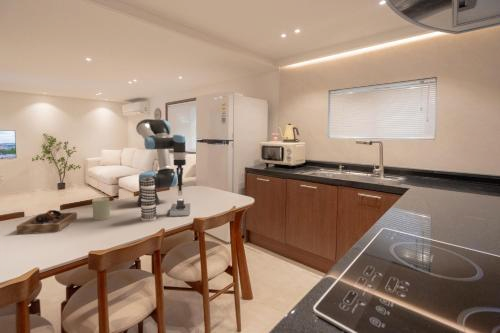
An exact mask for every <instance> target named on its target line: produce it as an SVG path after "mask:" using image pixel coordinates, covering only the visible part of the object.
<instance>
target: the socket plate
mask: <svg viewBox="0 0 500 333" xmlns="http://www.w3.org/2000/svg"><path fill="white" fill-rule="evenodd" d="M189 215H190V216H191V203H184V209H177V203H171V207H170V210H169V217H182V216H183V217H185V216H187V217H188V216H189Z"/></svg>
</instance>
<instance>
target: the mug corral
mask: <svg viewBox="0 0 500 333" xmlns="http://www.w3.org/2000/svg"><path fill="white" fill-rule="evenodd" d="M45 213H46V212H45ZM45 213H39V214H37V215H35V216H34V217H31V218H29V219H27V220H25V221H24V222H22V223H19V224H18V225H16V233H17V234H18V235H19V234H36V233H35V232H41V233H55V232H56V233H57V232H58V231H59V232H60V231H61V232H62V230H64V229H65V228H66V226H67V227H68V226H69V225H70V223H71V224H72V223H74V222H75V221H76V220H77V219H78V212H77V211H73V212H70V211H69V212H60V213H61V214H62V219H61V220H60V221H59V222H57V223H53V222H54V221H53V220H52V219H49V221H48V222H51V221H53V222H51V223H43V224H41V223H38V222H37V221H36V220H35V218H36V217H37V216H38V215H44V214H45ZM50 215H52V216H55V218H56V219H57V217H58V216H59V214H53V212H51V213H50ZM39 220H41V218H39Z"/></svg>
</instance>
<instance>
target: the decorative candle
mask: <svg viewBox="0 0 500 333" xmlns="http://www.w3.org/2000/svg"><path fill="white" fill-rule="evenodd" d="M154 180H155V179H153V178H152V177H144V178H142V180H140V181H141V187H140V192H141V193H140V195H141V196H140V198H141V201H142V205H141V206H140V209H141V211H140V212H141V215H140V217H141V220H142V221H145V222H147V221H148V222H150V221H154V220H156V219H157V209H156V208H157V205H156V204H155V199H156V198H155V197H156V195H155V193H156V192H155V191H156V189H154V187H156V186H155V185H154Z"/></svg>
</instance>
